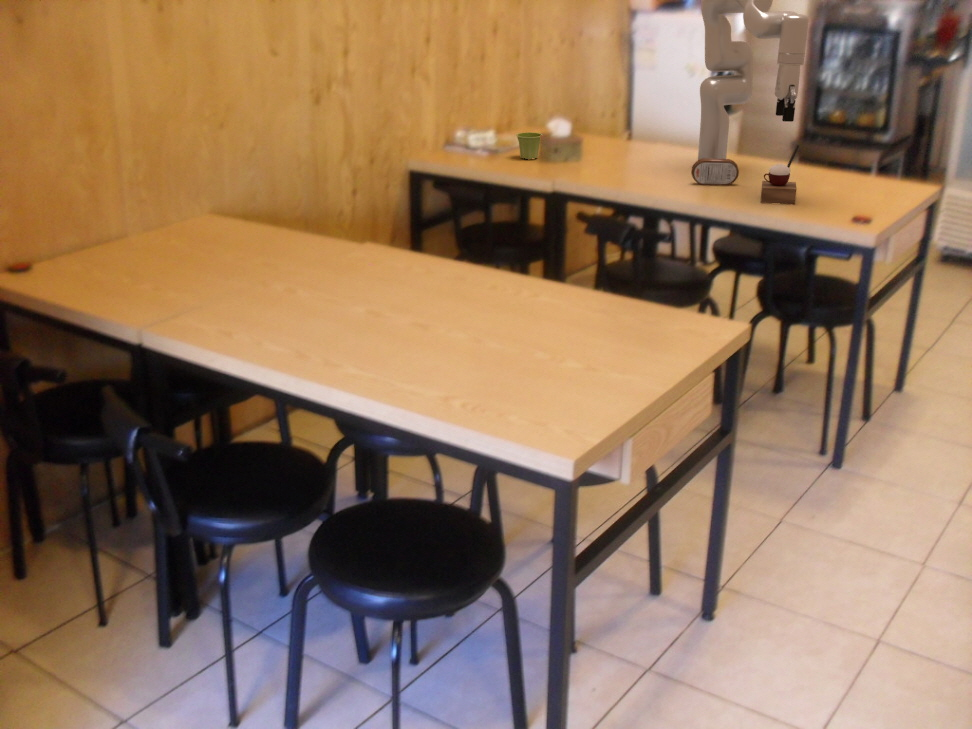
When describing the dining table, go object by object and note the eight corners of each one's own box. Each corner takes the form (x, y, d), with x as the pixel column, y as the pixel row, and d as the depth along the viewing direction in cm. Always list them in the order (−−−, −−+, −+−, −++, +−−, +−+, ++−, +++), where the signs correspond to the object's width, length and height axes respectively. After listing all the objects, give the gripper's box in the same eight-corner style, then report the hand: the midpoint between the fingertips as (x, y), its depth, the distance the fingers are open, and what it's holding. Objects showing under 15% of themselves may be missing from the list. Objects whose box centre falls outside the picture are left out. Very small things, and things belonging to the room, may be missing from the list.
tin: (737, 184, 338) (739, 158, 334) (738, 186, 335) (740, 160, 332) (690, 183, 339) (692, 157, 336) (691, 185, 336) (692, 159, 333)
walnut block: (760, 196, 323) (762, 180, 321) (794, 198, 321) (795, 182, 319) (760, 203, 314) (762, 187, 312) (794, 205, 312) (796, 189, 310)
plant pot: (545, 160, 374) (545, 136, 371) (520, 161, 372) (520, 137, 368) (537, 155, 382) (537, 131, 379) (512, 156, 380) (513, 133, 377)
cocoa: (762, 186, 315) (763, 147, 310) (767, 181, 320) (768, 142, 315) (794, 188, 311) (796, 148, 306) (798, 183, 316) (800, 143, 311)
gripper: (772, 55, 310) (766, 113, 317) (784, 62, 294) (777, 123, 301) (797, 55, 309) (790, 113, 316) (810, 62, 293) (803, 123, 300)
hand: (784, 118), depth 308 cm, fingers open, 9 cm apart
